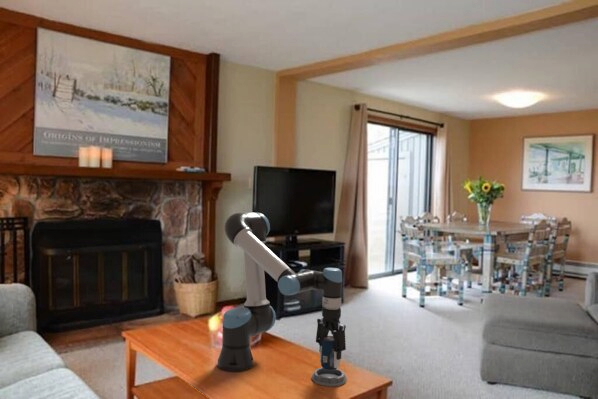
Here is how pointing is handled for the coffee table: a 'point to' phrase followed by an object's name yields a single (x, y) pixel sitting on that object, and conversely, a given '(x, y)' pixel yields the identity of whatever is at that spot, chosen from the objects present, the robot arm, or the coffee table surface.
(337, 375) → the can holder
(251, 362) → the robot arm
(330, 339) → the soda can
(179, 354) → the coffee table surface
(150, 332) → the coffee table surface
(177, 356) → the coffee table surface
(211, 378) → the coffee table surface
